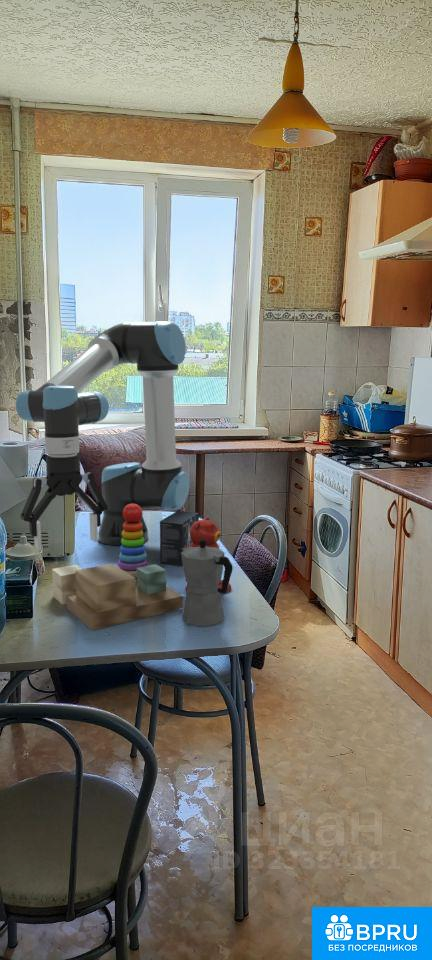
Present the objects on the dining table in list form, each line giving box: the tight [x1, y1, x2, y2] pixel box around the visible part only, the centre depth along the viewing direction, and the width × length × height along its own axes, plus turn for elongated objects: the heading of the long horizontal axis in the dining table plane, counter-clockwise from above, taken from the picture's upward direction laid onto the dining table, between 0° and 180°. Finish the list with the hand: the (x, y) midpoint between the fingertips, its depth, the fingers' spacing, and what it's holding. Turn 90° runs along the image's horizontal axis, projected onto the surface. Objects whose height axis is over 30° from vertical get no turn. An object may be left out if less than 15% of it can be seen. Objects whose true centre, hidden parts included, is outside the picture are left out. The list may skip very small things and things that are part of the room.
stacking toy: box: [117, 504, 148, 579], centre depth 179 cm, size 8×8×19 cm
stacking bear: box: [184, 517, 232, 593], centre depth 167 cm, size 11×10×18 cm
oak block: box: [51, 564, 83, 606], centre depth 164 cm, size 6×6×7 cm
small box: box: [159, 510, 200, 567], centre depth 193 cm, size 13×7×12 cm, turn 161°
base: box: [65, 563, 184, 631], centre depth 157 cm, size 22×15×9 cm
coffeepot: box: [181, 539, 234, 627], centre depth 149 cm, size 15×9×18 cm, turn 43°
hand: (66, 544), depth 162 cm, fingers open, 13 cm apart
